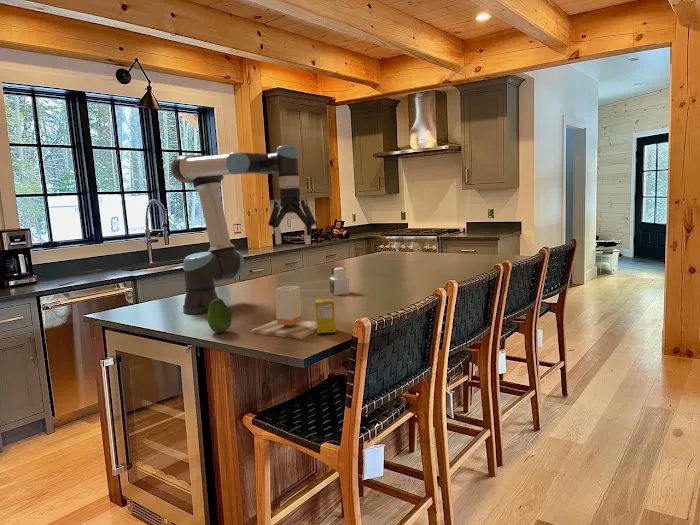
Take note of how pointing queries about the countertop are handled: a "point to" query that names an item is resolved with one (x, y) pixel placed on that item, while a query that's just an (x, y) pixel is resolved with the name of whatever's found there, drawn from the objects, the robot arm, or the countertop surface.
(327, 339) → the countertop surface
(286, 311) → the sleeve
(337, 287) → the medicine bottle
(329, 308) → the supplement box
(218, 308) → the avocado
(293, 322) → the ring
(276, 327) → the pipe stand
